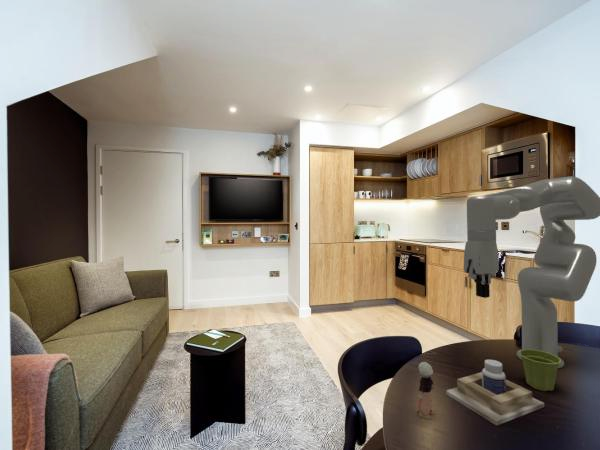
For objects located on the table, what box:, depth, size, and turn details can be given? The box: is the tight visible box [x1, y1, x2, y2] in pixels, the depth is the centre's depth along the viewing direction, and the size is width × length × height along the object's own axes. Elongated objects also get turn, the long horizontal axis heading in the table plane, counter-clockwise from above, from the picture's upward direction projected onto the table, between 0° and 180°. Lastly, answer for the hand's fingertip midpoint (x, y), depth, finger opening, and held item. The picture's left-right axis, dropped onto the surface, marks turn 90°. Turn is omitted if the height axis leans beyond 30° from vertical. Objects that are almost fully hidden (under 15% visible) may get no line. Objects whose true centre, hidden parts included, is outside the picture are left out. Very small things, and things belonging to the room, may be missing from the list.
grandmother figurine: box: [416, 361, 436, 420], centre depth 73 cm, size 8×4×13 cm, turn 145°
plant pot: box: [519, 349, 562, 392], centre depth 85 cm, size 9×9×9 cm
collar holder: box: [445, 371, 545, 426], centre depth 79 cm, size 18×14×4 cm
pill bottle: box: [481, 359, 507, 395], centre depth 79 cm, size 5×5×9 cm
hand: (482, 296), depth 91 cm, fingers closed
